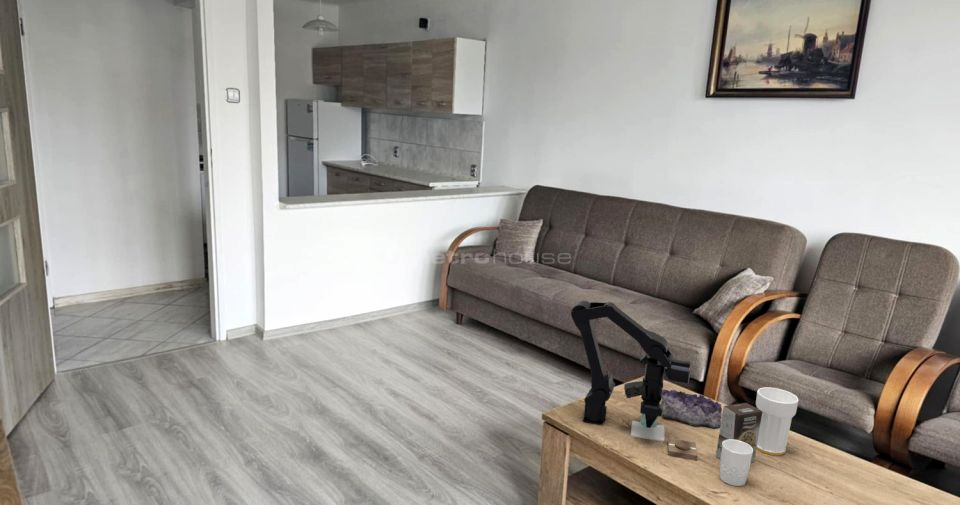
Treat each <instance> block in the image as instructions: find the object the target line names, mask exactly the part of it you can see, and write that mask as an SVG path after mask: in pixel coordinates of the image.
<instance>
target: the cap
mask: <svg viewBox="0 0 960 505" xmlns="http://www.w3.org/2000/svg"><path fill="white" fill-rule="evenodd" d="M640 417H641V418H640V422H641V425H643V426H644V427H646V418H645V414H642V413H641V416H640ZM656 425H658V417H657V418H656V420H655V421H654V423H653V424H652V426H651V427H650V428H654V427H656Z"/></svg>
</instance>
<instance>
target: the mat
mask: <svg viewBox="0 0 960 505" xmlns="http://www.w3.org/2000/svg"><path fill="white" fill-rule="evenodd" d="M630 428H631V430H630V437H633V438H634V437H635V438H640V439H645V440H650V441H657V442H663V443H665V425H661V424H660V425H659V424H656V427H654V428H647V427H644V426H643V425H641V421H635V420H631V427H630Z"/></svg>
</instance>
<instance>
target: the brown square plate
mask: <svg viewBox="0 0 960 505" xmlns="http://www.w3.org/2000/svg"><path fill="white" fill-rule="evenodd" d="M697 450H698V449H697V442H695V441H689V440H683V439H677V438H676V439H675V438H670V437H669V438H667V455H668V456H669V457H675V458H681V459H687V460H691V461H698V451H697Z"/></svg>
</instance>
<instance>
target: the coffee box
mask: <svg viewBox="0 0 960 505" xmlns="http://www.w3.org/2000/svg"><path fill="white" fill-rule="evenodd" d="M722 408H723V409H722V415H721V416H722V417H721V426H720V428H719V432H718V440H717V446H716V452H715V456H716V457H717V458H718V459H720V460H721V451H722V442H723V441H724V440H728V439H734V440H739V441H742V442H745V443H747V444H749V445H750V446H751V447H752V448H753V454H752V458H751V463H754V462H755V459H756V458H755V457H756V453H757V449H756V448H757V441H758V435H759V429H760V423H761V417H762V411H761V410H759V409H758V408H757V407H755V406H753V405H752V404H749V403H748V402H742V403H736V404H730V405H723V407H722Z"/></svg>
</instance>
